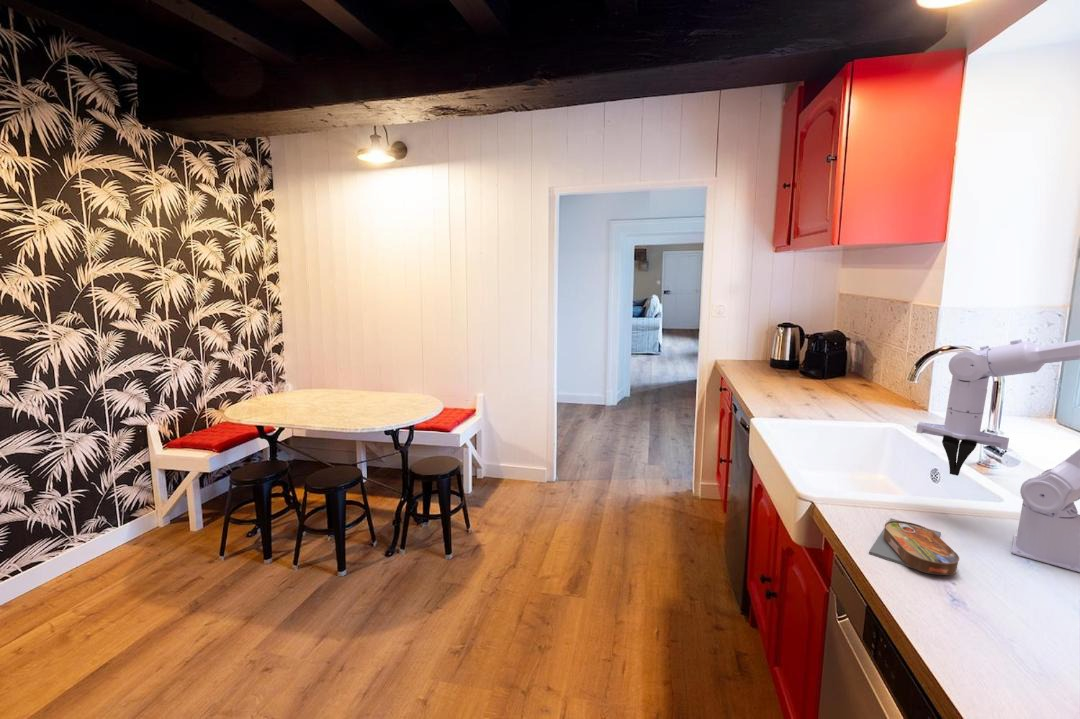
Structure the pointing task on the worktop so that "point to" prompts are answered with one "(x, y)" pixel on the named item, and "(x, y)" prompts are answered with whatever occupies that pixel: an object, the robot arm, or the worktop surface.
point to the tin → (921, 548)
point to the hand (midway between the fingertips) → (954, 473)
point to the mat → (889, 548)
